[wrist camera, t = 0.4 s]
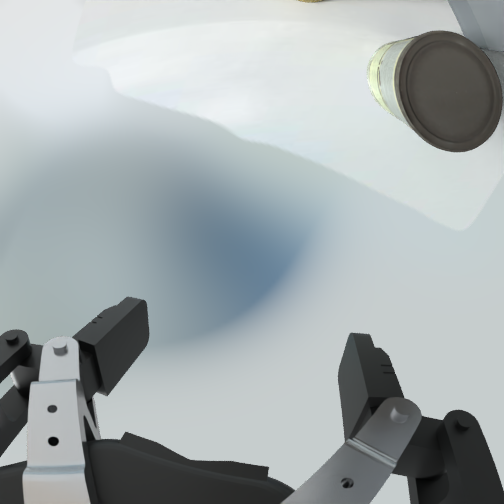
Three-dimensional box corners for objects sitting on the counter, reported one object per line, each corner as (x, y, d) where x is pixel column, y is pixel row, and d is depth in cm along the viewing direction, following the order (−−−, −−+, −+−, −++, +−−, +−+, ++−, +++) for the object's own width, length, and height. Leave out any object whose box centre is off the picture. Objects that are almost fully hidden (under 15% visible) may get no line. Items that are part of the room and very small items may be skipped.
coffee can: (415, 28, 23) (467, 15, 12) (455, 100, 27) (517, 126, 16) (348, 62, 28) (370, 60, 17) (393, 133, 32) (432, 172, 21)
